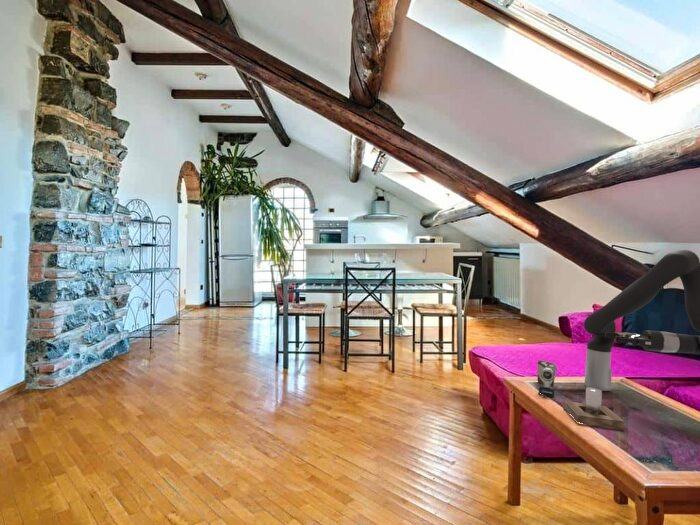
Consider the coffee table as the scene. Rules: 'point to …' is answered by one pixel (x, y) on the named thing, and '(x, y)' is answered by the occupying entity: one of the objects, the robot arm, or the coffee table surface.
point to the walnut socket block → (594, 416)
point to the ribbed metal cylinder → (593, 401)
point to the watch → (547, 382)
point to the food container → (542, 366)
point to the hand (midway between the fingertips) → (610, 336)
